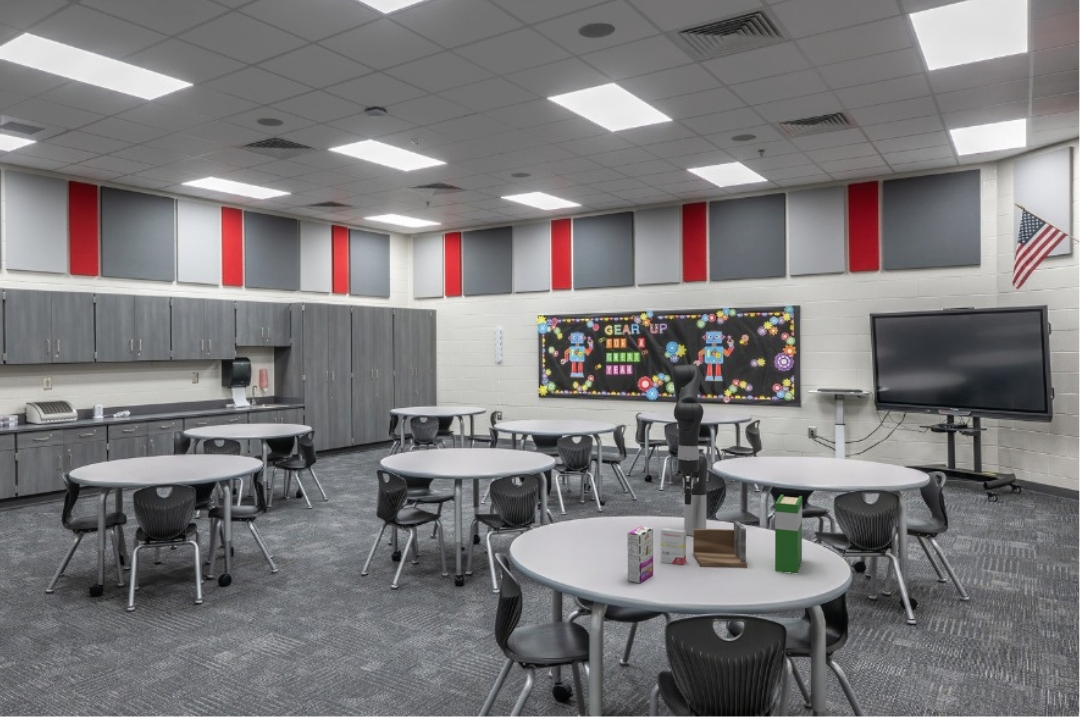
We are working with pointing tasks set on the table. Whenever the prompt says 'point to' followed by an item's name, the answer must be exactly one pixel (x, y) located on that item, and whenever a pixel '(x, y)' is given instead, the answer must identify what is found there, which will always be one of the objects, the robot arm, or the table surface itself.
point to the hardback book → (788, 534)
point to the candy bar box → (640, 554)
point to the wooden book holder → (720, 547)
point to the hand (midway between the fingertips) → (688, 502)
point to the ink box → (673, 546)
